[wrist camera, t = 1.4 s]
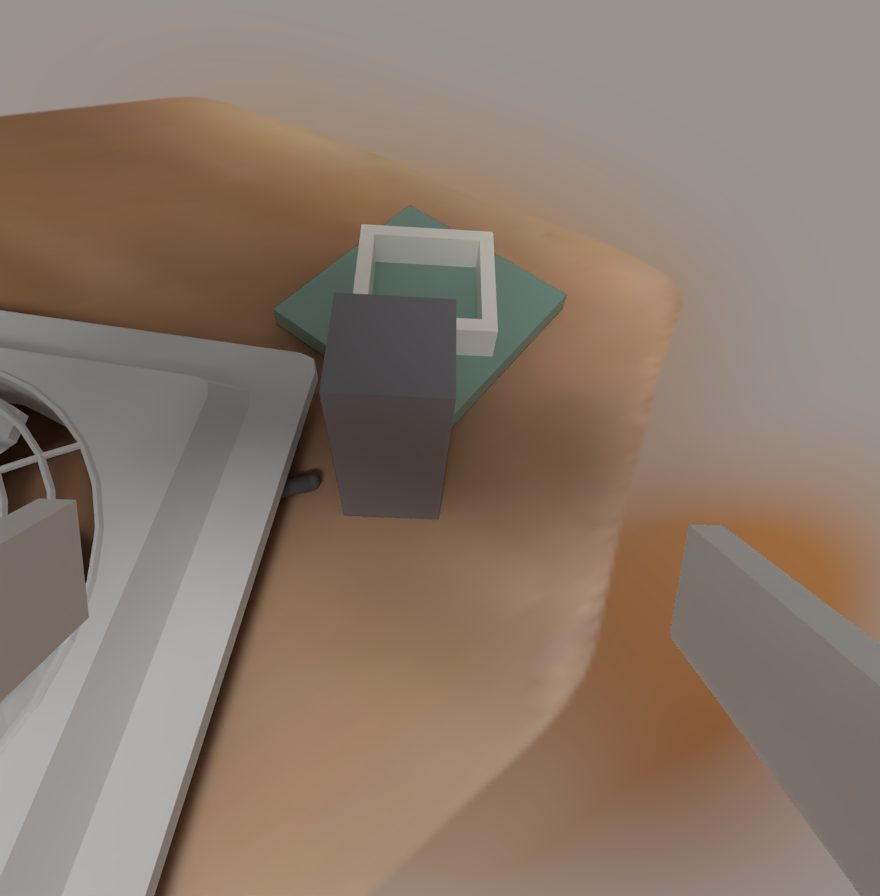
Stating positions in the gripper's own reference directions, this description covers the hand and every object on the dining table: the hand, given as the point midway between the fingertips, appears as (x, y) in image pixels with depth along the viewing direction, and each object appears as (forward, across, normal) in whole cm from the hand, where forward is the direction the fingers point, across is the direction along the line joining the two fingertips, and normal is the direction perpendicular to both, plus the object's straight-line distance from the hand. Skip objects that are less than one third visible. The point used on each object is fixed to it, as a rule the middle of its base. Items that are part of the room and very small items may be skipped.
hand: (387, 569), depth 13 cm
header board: (+24, +1, +5) cm, 24 cm away
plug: (+16, 0, -3) cm, 16 cm away
